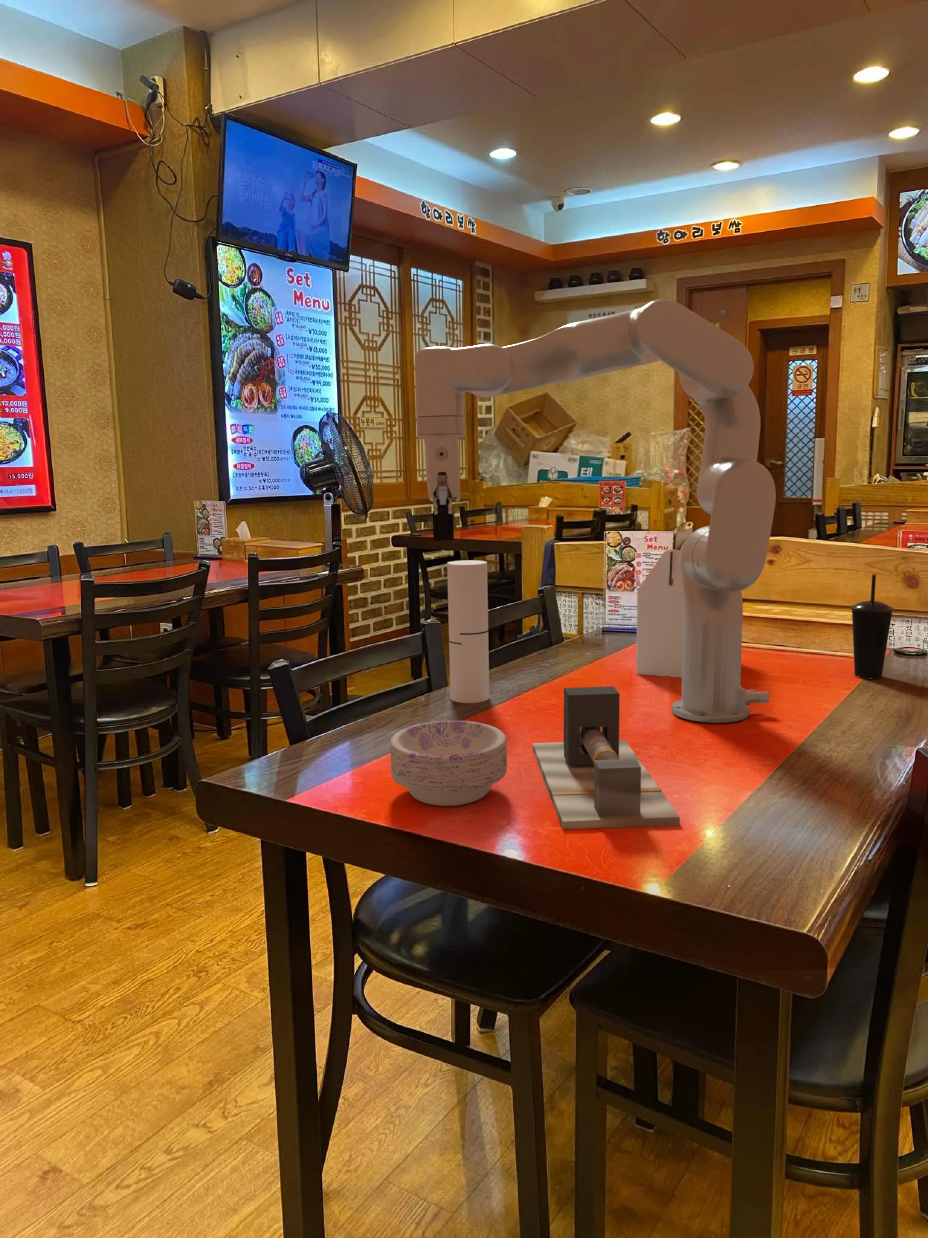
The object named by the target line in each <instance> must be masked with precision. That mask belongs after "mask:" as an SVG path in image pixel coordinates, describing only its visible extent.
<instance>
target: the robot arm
mask: <svg viewBox="0 0 928 1238" xmlns="http://www.w3.org/2000/svg"><path fill="white" fill-rule="evenodd" d="M414 358H415V359H414V374H415V375H414V380H415V381H414V382H415V409H416V410H415V413H416V415H415V416H416V439H417V440H424V454H425V455H424V457H425V458H424V460H425V477H426V485H427V486H426V487H427V492H428V498H429V501H431V502H433V511H432V536H433V537H432V538H433V541H435V542H436V541H440V542H441V541H443V542H444V541H454V539H455V535H454V534H455V529H454V528H455V527H454V526H455V524H454V514H453V509H452V507H453V505H452V498H454V500H455V502H459V501H460V500H461V478H460V477H461V475H460V471H461V470H460V468H461V467H460V448H459V439H466V438H465V403H464V402H465V401H464V400H465V399H464V397H465V396H464V395H465V393H471V394H472V395H474V396H476V397H478V398H484V399H486V398H487V399H489V398H493V397H498V396H503V395H507V394H511V393H516V392H521V391H525V390H531V389H533V388H539V387H543V386H548V385H552V384H561V383H562V384H563V383H568V382H569V383H570V382H572V381H576V380H581V379H585V378H589V377H594V376H599V375H602V374H607V373H611V372H616V371H620V370H625V369H630V368H631V369H632V368H635V367H639V366H645V365H648V364H652V363H656V362H658V361H659V362H660V361H661V362H663V363H664V364H666V365H667V366H669V368H671V369H673V370H674V371H676V372H678V373H679V375H678V376H679V381H680V385H681V387H682V389H683V391H684V392H685V393H686V395H688V396H689V397H690V399H691V398H692V400H694V401H695V402H696V403H697V405H698V407H699V408H700V409H701V412H702V414H703V418H704V428H705V429H704V440H703V448H702V449H703V450H702V453H701V454H702V455H701V461H700V462H701V463H700V469H699V474H698V480H697V486H696V498H697V502H698V504H699V506H700V508H701V509H702V510H703V511H704V512H705V513H706V514H708V515H710V522H709V525H707V526H706V525H705V526H702V527H699V528H698V529H696V530H695V531H693V533H692V534H691V535H690V536H689V537H688V539H687V540H686V542H685V544H684V546H683V549H682V554H681V571H682V581H683V594H684V619H683V657H682V678H681V699H679V700H676V701H674V702H673V703H672V705H671V712H672V714H673V715H675V716H676V717H678V718H682V719H685V720H688V721H692V722H698V723H706V724H707V723H711V724H725V723H727V724H728V723H734V722H739V721H743V720H745V719H747V718H748V717H749V716H750V707H748V706H750V705H751V704H752V703H757V704H767V703H769V702H770V693H769V692H768V690H767V691H756V689H747V690H746V689H745V688H744V687H742V686H741V674H742V671H741V669H742V668H741V667H742V643H743V642H742V640H743V638H742V637H743V624H744V623H743V622H744V619H743V618H744V601H743V590H746V589H748V588H750V587H751V586H752V585H753V584H754V583H756V581H758V579H759V577H760V576H761V574H762V572H763V570H764V567H765V564H766V561H767V560H766V559H767V556H768V550H769V545H770V539H771V532H772V526H773V520H774V513H775V508H776V498H777V497H776V496H777V495H776V491H777V490H776V485H775V481H774V479H773V476H772V474H771V473H770V471H769V470H768V468H766V466H764V465H763V464H762V463H760V462H758V453H759V444H760V443H759V442H760V435H761V413H760V408H759V407H760V406H759V404H758V402H757V398H756V396H755V394H754V392H753V390H752V389H751V387H750V382H751V380H752V378H753V376H754V375H753V374H754V370H755V369H754V367H755V366H754V360H753V357H752V354H751V353H750V350H748V348H747V346H745V345H744V344H743V343H742V342H741V341H739V340H738V339H737V338H736V337H734V336H733V335H731V334H729V333H727V332H726V331H724V330H723V329H721V328H720V327H717V326H716V325H715V324H713V323H711V322H710V321H708V320H707V319H706V318H703V317H702V316H700V314H698V313H696V312H694V311H693V310H691V309H689V308H687V307H686V306H684V305H683V304H680V303H679V302H676V301H674V300H671V299H664V298H659V299H655V300H653V301H650V302H648V303H647V304H645V305H643V306H642V307H639V308H636V309H631V310H627V311H622V312H617V313H615V314H614V313H613V314H610V315H604V316H600V317H597V318H596V317H595V318H590V319H585V320H581V321H577V322H572V323H568V324H566V325H563V326H561V327H559V328H556V329H554V330H552V331H551V332H549V333H546V334H544V335H541V336H539V337H537V338H534V339H530V340H527V341H523V342H519V343H514V344H511V345H507V346H503V347H502V346H501V345H497V344H492V343H484V344H477V345H473V346H471V345H470V346H465V347H463V346H462V347H456V348H455V347H449V346H431V347H424V348H421V349H420V350H418V351H417V352H416V354H415V357H414Z"/></svg>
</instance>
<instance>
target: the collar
mask: <svg viewBox="0 0 928 1238" xmlns="http://www.w3.org/2000/svg"><path fill="white" fill-rule="evenodd" d="M580 727H601V732H602V734H603V735H604V737H605V738H606V740H607V742H608V743H609V745H610V746H611V748H612V749H613V751H614V752H615V753H616V754H617V756H618V757H619V740H620V692H619V691H618V690H617V689H616V687H615V686H612V685H611V686H610V685H609V686H586V687H585V686H581V687H563V742H564V757H565V760H566V762H567V764H568V766H573V765H594V763H593V761H592V759H591V757H590V755H589V754H588V752H587V750H586V748H585V746H584V745H580Z"/></svg>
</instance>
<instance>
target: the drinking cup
mask: <svg viewBox="0 0 928 1238" xmlns="http://www.w3.org/2000/svg"><path fill="white" fill-rule="evenodd" d="M876 578H877V574H876V573H872V574H871V586H870V587H871V589H870V600H864V601H859V602H857V603H855V604H852V605H851V606H850V610H851V618H852V620H851V621H852V642H853V643H852V646H853V665H854V667H853V669H854V676H855V675H856V676H859V677H862V678H861V679H863V678H880V679H881V678H882V677H883V671H884V666H885V658H886V653H887V646H888V640H889V634H890V633H889V632H890V628H891V621H892V615H893V612H894V611H895V607H893V606H891V605H889V604H887V603H885V602H882V601H878V600H875V599H876V598H875V597H876V584H877V583H876V582H877V579H876ZM856 676H855V677H856Z"/></svg>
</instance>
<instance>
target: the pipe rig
mask: <svg viewBox="0 0 928 1238" xmlns="http://www.w3.org/2000/svg"><path fill="white" fill-rule="evenodd" d="M580 745H584V746H585V748H586V750H587V752H588V754H589V755H590V757H591V759H592V761H593V763H594V765H573V766H568V764H567V762H566V760H565V757H564V741H557V742H555V741H554V742H532V750H533V754H534V756H535V759H536V761H537V763H538V764H537V765H538V767H539V770H540V773H541V775H542V778H543V780H544V784H545V786H546V789H547V791H548V794H549V797H550V799H551V802H552V805H553V807H554V810H555V812H556V816H557V818H558V821H559V823H560V826H561V829H562V830H579V829H580V830H581V829H607V828H608V829H611V828H635V827H663V826H680V825H681V821H680V820H681V817H680V815H679V814H678V813H677V811H676V809H675V808H674V806H672V803H670V802H669V800H668V798H667V797H666V795H665V794H664V793H663V791H662V789H661V788H660V787H659V786H658V784H657V783H656V781H655V780H654V779H653V777H652V776H651V774H650V773H649V771H648V770H647V769H646V767H645V766H644V764H643V763H642V761H640V759H639V758H638V756H637V755H636V753H635V752H634V750H633V749H632V748H631V746H630V745H629V743H628V742H627V740H626V739H619V757H618V756H617V754H616V753H615V752H614V751H613V749H612V748H611V746H610V745H609V743H608V742H607V740H606V738H605V737H604V735H603V734H602V727H580Z"/></svg>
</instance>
